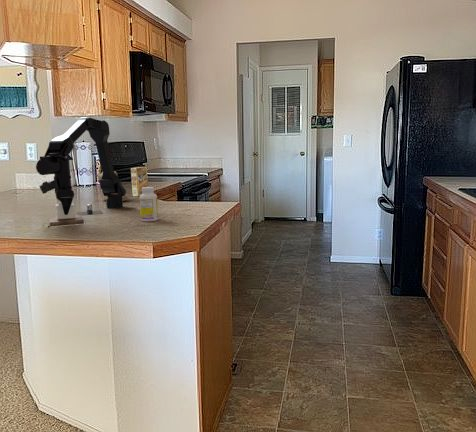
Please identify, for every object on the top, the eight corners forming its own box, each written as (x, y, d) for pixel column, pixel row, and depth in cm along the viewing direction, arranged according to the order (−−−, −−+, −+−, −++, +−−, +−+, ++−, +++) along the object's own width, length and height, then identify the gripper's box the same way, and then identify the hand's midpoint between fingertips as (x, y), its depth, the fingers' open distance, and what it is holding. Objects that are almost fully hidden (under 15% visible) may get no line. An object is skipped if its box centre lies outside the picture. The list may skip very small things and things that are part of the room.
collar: (74, 215, 189) (73, 202, 188) (75, 217, 183) (74, 204, 182) (56, 216, 186) (55, 203, 185) (57, 219, 180) (56, 206, 179)
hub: (81, 218, 192) (80, 206, 192) (83, 223, 181) (82, 210, 181) (49, 221, 188) (48, 209, 187) (50, 226, 177) (48, 213, 176)
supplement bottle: (150, 218, 190) (149, 186, 188) (161, 219, 186) (160, 187, 184) (137, 220, 185) (135, 187, 183) (148, 222, 181) (146, 188, 179)
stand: (100, 212, 207) (100, 202, 206) (103, 216, 198) (103, 205, 197) (76, 214, 203) (75, 204, 202) (78, 218, 194) (77, 207, 193)
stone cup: (97, 200, 246) (95, 171, 243) (119, 198, 252) (118, 170, 249) (105, 204, 233) (103, 173, 230) (129, 201, 239) (127, 171, 236)
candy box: (138, 196, 258) (136, 168, 256) (132, 196, 261) (130, 168, 258) (148, 194, 266) (147, 166, 263) (142, 194, 268) (141, 166, 266)
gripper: (39, 172, 187) (42, 211, 190) (39, 175, 170) (43, 219, 173) (69, 170, 191) (72, 209, 194) (72, 174, 174) (75, 216, 177)
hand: (65, 213), depth 184 cm, fingers closed on collar, 6 cm apart
